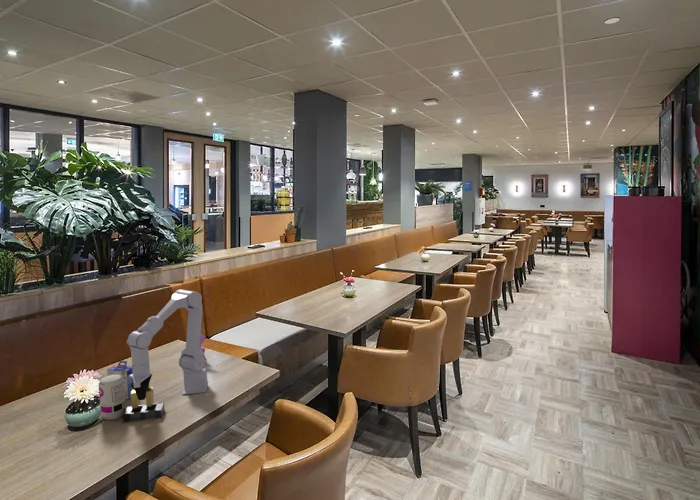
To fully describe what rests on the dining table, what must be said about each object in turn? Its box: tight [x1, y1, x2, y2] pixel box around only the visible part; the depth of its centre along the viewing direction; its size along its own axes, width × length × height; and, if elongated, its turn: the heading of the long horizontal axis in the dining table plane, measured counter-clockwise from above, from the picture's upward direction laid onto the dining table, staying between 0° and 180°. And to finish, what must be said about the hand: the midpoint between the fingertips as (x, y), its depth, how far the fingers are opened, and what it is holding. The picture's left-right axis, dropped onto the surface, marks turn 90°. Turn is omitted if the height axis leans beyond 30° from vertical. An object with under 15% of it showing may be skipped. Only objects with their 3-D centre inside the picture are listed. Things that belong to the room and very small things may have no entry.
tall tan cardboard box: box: [130, 386, 155, 408], centre depth 155 cm, size 7×4×6 cm, turn 104°
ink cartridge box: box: [106, 360, 134, 400], centre depth 171 cm, size 10×6×14 cm, turn 79°
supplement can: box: [98, 374, 127, 421], centre depth 155 cm, size 8×8×15 cm
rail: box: [122, 401, 165, 423], centre depth 156 cm, size 13×6×3 cm, turn 104°
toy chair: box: [199, 333, 207, 360], centre depth 203 cm, size 8×9×15 cm
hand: (143, 397), depth 155 cm, fingers closed on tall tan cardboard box, 3 cm apart
